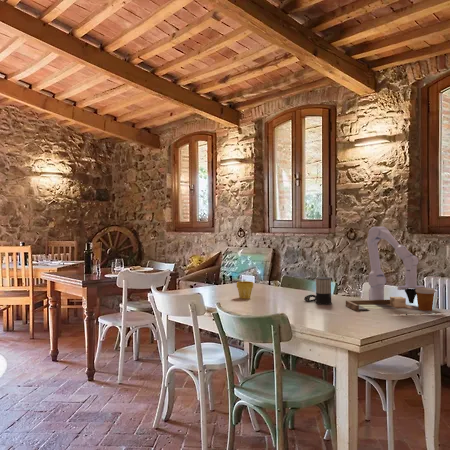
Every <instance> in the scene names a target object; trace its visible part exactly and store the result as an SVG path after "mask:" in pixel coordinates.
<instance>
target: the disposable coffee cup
mask: <svg viewBox="0 0 450 450" xmlns="http://www.w3.org/2000/svg"><path fill="white" fill-rule="evenodd" d="M415 291H416V300H417V302H416V303H417V308H418V310H419V311H422V312H423V311H424V312H429V311H430V312H432V311H433V307H434V298H435V294H436V290H435V288H433V287H428V286H427V287H418V288H416V290H415Z"/></svg>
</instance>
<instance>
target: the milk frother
mask: <svg viewBox="0 0 450 450" xmlns="http://www.w3.org/2000/svg"><path fill="white" fill-rule="evenodd" d="M311 298H314V299H311ZM304 301H305V302H311V303H313V302H315V304H317V305H324V306H325V305H326V306H327V305H332V277H327V276H317V277H315V294H308V295H305V296H304Z"/></svg>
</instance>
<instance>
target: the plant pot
mask: <svg viewBox="0 0 450 450" xmlns="http://www.w3.org/2000/svg"><path fill="white" fill-rule="evenodd" d="M236 288H237V291H238V297H239V299H241V300H242V299H243V300H246V299H251V296H252V290H253V288H254V282H253V281H245V280H242V281H237V282H236Z"/></svg>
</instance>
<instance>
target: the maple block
mask: <svg viewBox="0 0 450 450" xmlns="http://www.w3.org/2000/svg"><path fill="white" fill-rule="evenodd" d="M389 300H390V305H391V306H394V307H406V305H407V299H406V297H403V296H389Z"/></svg>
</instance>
